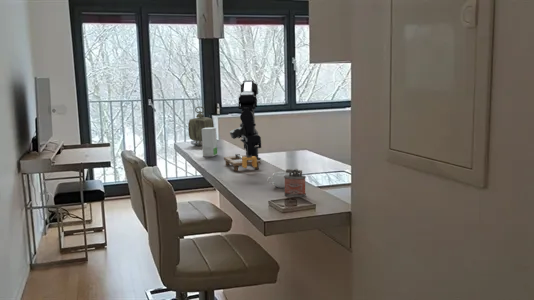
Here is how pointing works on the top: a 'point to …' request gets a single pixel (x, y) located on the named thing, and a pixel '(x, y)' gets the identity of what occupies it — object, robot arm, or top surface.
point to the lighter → (294, 183)
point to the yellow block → (253, 158)
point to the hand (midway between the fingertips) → (249, 155)
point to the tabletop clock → (199, 126)
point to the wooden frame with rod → (231, 161)
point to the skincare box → (209, 142)
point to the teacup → (278, 179)
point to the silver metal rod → (238, 156)
